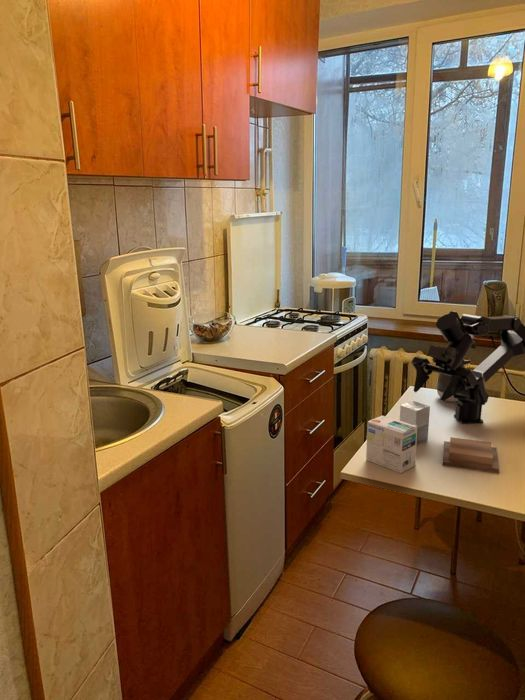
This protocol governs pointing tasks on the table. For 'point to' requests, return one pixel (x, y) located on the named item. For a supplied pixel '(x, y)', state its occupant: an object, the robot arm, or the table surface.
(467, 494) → the table surface
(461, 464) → the walnut stand
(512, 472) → the table surface
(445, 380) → the pump dispenser
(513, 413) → the table surface
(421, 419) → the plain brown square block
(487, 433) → the table surface
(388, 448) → the light bulb box
